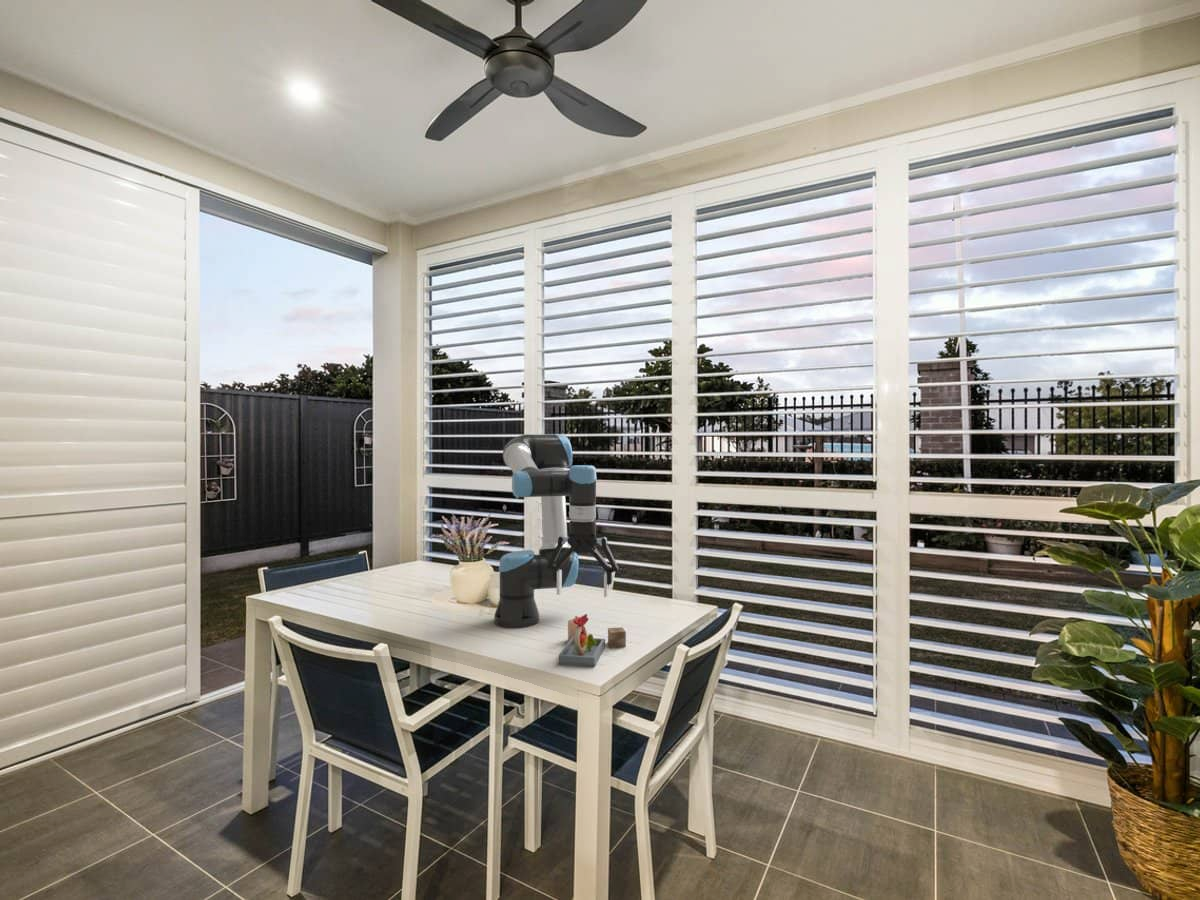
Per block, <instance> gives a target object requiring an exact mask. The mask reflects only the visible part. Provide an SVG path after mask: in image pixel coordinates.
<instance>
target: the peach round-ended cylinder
mask: <svg viewBox="0 0 1200 900" xmlns="http://www.w3.org/2000/svg"><path fill="white" fill-rule="evenodd" d="M573 619H574V618H572V619H568V621H567V643H568V642H569V640H570V639H571V638H572V637H574V633H575V630H576V627H577V626H578V625H577V624H575V623H574V622H573ZM580 634H581V633H580Z"/></svg>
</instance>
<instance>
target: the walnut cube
mask: <svg viewBox="0 0 1200 900" xmlns="http://www.w3.org/2000/svg"><path fill="white" fill-rule="evenodd" d="M626 639H627V632H626V630H625V629H624V627H621V626H620V627H608V628H607V643H608V645H609V647H610V648H625V647H626V645H627V644H626V643H627V642H626V641H627V640H626Z"/></svg>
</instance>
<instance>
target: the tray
mask: <svg viewBox="0 0 1200 900" xmlns="http://www.w3.org/2000/svg"><path fill="white" fill-rule="evenodd" d="M593 639H594V640H595V641H596V642H597V644H596V646H592V648H591V650H588V649H587V648H586V650H585V652H584V653H583V655H582V656H580V655H578V652H577V651H576V649H575V646H574V637H572V638H571V639H570V640H569V642H568V641H567V643H566V645H565V646H564V647H563V648H562V650H561V651H560V653H559V654H558V665H561V666H562V665H563V666H575V667H590V668H595V667H596V666H597V663H598V661H599V659H600V658H601V656H602V654H603V652H604V650H605V648H606V638H597V637H593Z"/></svg>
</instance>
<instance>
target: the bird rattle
mask: <svg viewBox="0 0 1200 900" xmlns="http://www.w3.org/2000/svg"><path fill="white" fill-rule="evenodd" d="M572 619H573V622H574V623H575V624H577V625H578V626H577V627H576V630H575V633H574V646H575V649H576V651H577V652H578V655H580V656H582V655H583V653H584V652H585V650H586V648H587V649H588V650H591V648H592V646H596V644H597V642H596V641H595V640H594V639H593V638H594V635H593V634H592V633H590V634H588V632H587V630H586V626H585V625H586V624H587V622H588V621H589V617H588V614H587V613H586V614H584V615H582V616H577V615H575V616H574V618H572ZM580 633H581V634H580Z"/></svg>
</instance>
